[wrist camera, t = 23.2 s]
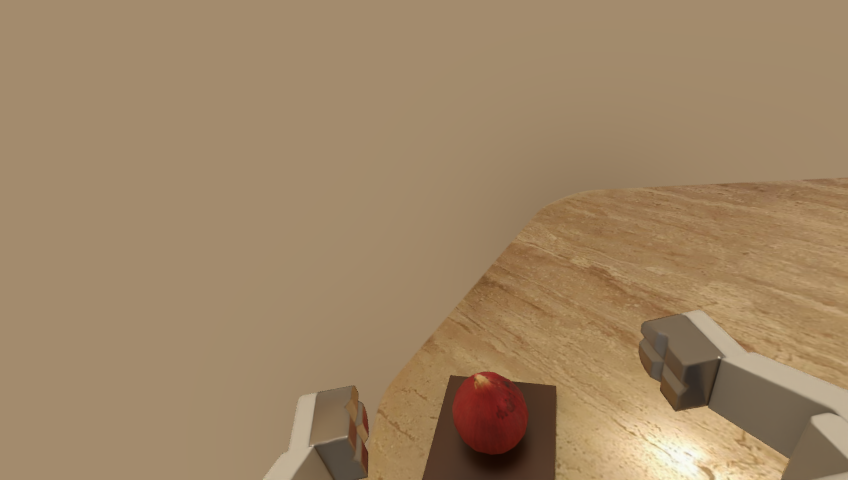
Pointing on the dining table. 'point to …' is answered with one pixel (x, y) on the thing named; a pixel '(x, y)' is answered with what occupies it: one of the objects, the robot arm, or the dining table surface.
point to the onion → (490, 413)
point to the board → (499, 473)
